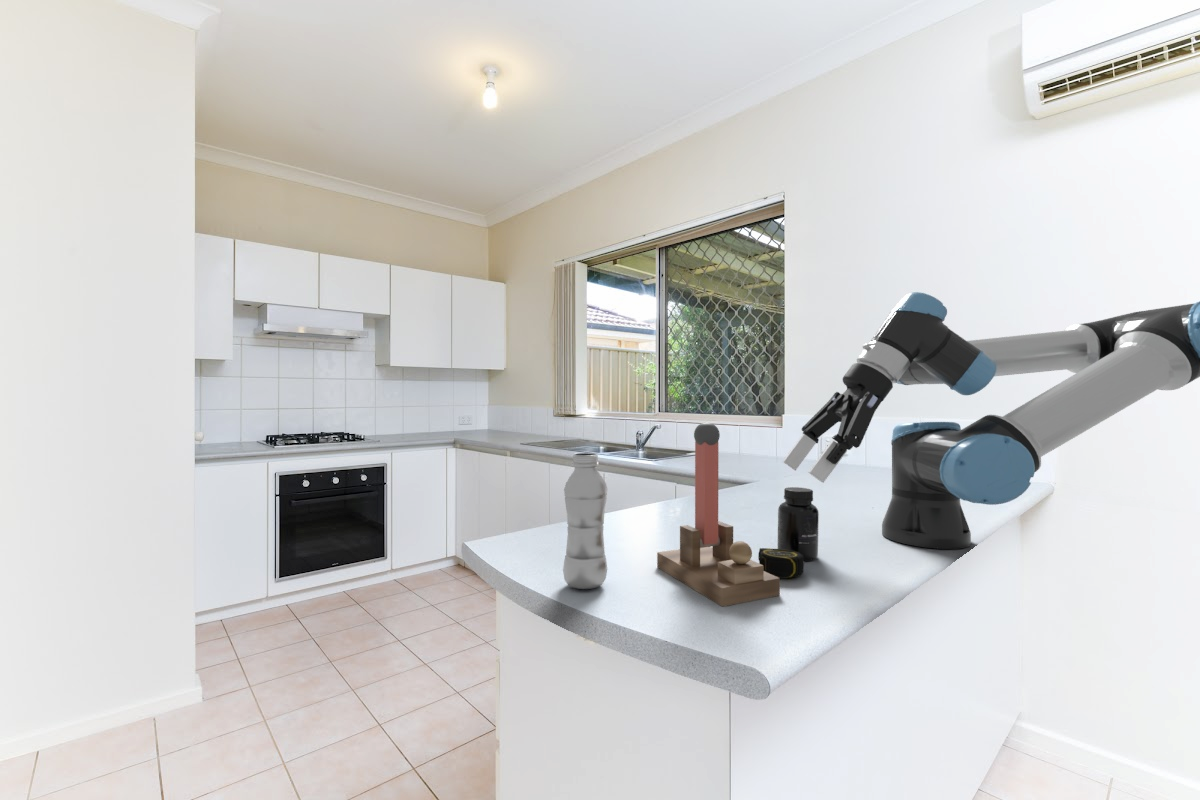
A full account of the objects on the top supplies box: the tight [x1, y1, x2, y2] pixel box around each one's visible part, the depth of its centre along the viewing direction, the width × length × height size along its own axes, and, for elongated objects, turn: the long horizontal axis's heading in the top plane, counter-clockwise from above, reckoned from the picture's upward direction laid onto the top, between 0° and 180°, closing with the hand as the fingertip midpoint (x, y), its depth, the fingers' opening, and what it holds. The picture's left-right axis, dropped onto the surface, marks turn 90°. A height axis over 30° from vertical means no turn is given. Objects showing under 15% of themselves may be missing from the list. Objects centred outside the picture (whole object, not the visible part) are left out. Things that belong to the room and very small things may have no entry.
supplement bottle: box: [776, 486, 820, 562], centre depth 96 cm, size 7×7×12 cm
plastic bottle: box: [562, 452, 608, 590], centre depth 81 cm, size 6×7×20 cm
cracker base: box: [656, 520, 781, 607], centre depth 84 cm, size 18×10×8 cm, turn 23°
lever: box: [693, 422, 721, 548], centre depth 86 cm, size 4×4×20 cm
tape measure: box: [757, 547, 805, 579], centre depth 87 cm, size 7×7×4 cm
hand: (801, 471), depth 95 cm, fingers open, 13 cm apart
